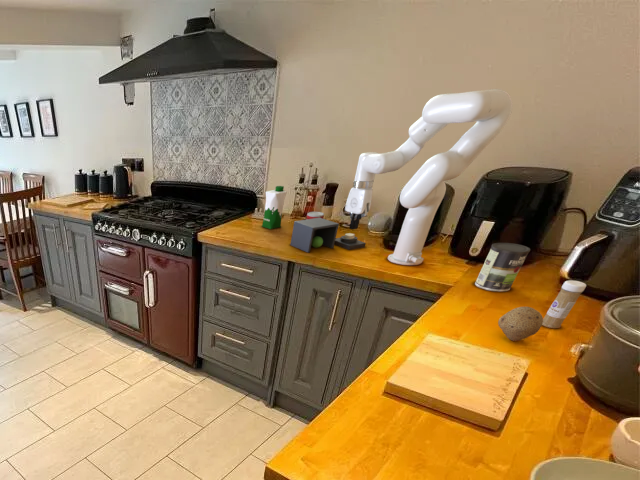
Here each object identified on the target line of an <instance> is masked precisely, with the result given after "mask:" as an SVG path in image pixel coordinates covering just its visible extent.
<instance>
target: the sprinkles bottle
mask: <svg viewBox="0 0 640 480" xmlns="http://www.w3.org/2000/svg"><path fill="white" fill-rule="evenodd" d="M586 287H587V284H586V283H584V282H582V281H579V280H572V279H570V280H566V281H564V282H563V284H562V286H561V289H560V291H559V292H558V294H557V296H556V297H555V298H554V301H553V302H552V304H551V305H550V306H549V308H548V310H547V312H546V314H545V315H544V317H543V323H542V326H544V327H546V328H550V329H560V328H561V327H562V324H563V322H564V321H565V320H566V319H567V317H568V315H569V314H570V311H571V310H572V309H573V307H574V305H575V304H576V302H577V300H578V299H579V298H580V296H581V294H582V293H583V292H584V291H585V289H586Z"/></svg>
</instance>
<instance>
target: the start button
mask: <svg viewBox="0 0 640 480" xmlns="http://www.w3.org/2000/svg"><path fill="white" fill-rule="evenodd" d="M355 235H356V234H355V233H351V232H349V233H347V232H346V233H344V236H345V237H344V238H346V239H354V236H355ZM355 237H356V236H355Z"/></svg>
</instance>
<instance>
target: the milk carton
mask: <svg viewBox="0 0 640 480" xmlns="http://www.w3.org/2000/svg"><path fill="white" fill-rule="evenodd" d="M284 188H285V187H284V185H276V186H275V189H272V190H267V191H265V206H264V213H263V220H262V224H261V227H263V228H265V229H269V230H274V229H278V228H281V226H282V216H283V211H284V205H285V204H284V203H285V200H286V196H287V194H288V191H287V190H285V189H284Z"/></svg>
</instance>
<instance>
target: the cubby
mask: <svg viewBox="0 0 640 480" xmlns="http://www.w3.org/2000/svg"><path fill="white" fill-rule="evenodd" d="M339 224H340V223H338V222H335V221H332V220H328V219H325V218H313V219H307V220H306V219H301V220H295V221H293V227H292V234H291V240H290V244H289V245H290V246H291V247H294V248H296V249H298V250H301V251H302V252H306V253H310V252H311V248H312V244H311V243H312V239H313V238H314V237H317V236H319V237H321V238H322V239H323V244H322V245H321V246H325V247H327V248H330V249H334V247H335V244H334V243H335V239H336V238H337V234H338V229H339Z"/></svg>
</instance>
